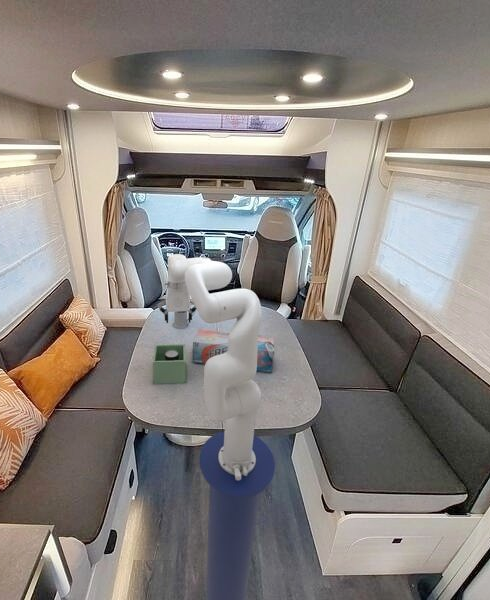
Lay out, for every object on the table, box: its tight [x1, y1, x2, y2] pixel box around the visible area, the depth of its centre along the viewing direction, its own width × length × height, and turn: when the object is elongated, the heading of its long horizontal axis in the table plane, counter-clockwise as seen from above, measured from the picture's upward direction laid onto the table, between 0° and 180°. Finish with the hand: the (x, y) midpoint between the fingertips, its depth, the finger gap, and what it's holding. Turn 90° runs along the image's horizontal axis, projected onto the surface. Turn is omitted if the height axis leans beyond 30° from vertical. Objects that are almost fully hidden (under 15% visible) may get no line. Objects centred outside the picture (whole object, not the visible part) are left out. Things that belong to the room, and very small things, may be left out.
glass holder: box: [173, 303, 197, 329], centre depth 196 cm, size 9×14×15 cm, turn 105°
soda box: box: [192, 329, 275, 374], centre depth 160 cm, size 41×14×13 cm, turn 80°
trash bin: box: [152, 343, 187, 384], centre depth 149 cm, size 15×15×12 cm
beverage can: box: [165, 350, 179, 361], centre depth 147 cm, size 7×7×12 cm
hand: (178, 321), depth 136 cm, fingers open, 9 cm apart
